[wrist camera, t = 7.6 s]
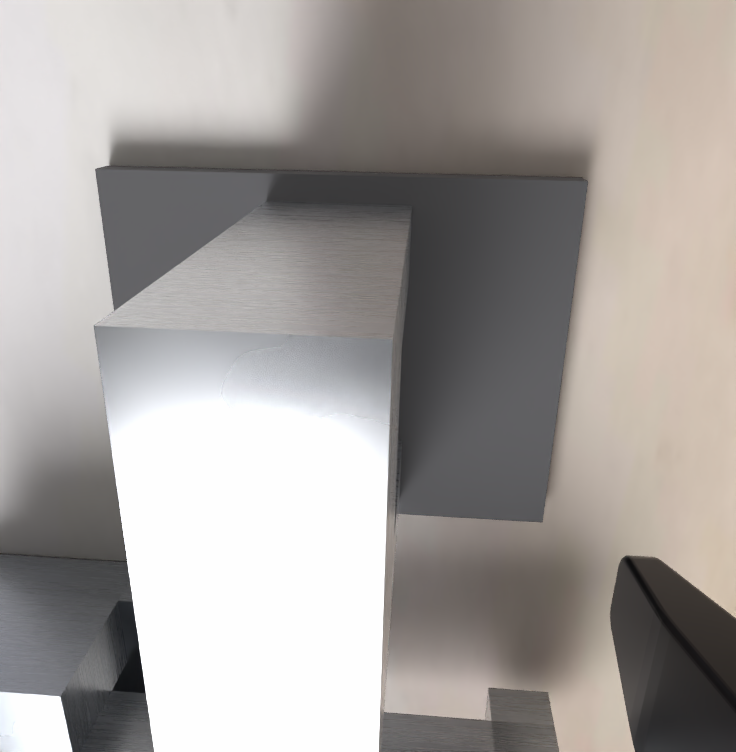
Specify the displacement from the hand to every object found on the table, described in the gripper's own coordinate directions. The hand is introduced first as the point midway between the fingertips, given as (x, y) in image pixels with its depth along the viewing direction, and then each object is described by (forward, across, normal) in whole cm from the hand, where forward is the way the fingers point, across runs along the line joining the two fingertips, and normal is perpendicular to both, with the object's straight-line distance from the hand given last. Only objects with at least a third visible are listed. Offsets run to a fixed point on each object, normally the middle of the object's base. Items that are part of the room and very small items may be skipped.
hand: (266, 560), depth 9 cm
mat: (+8, 0, 0) cm, 8 cm away
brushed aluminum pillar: (+3, 0, 0) cm, 3 cm away
